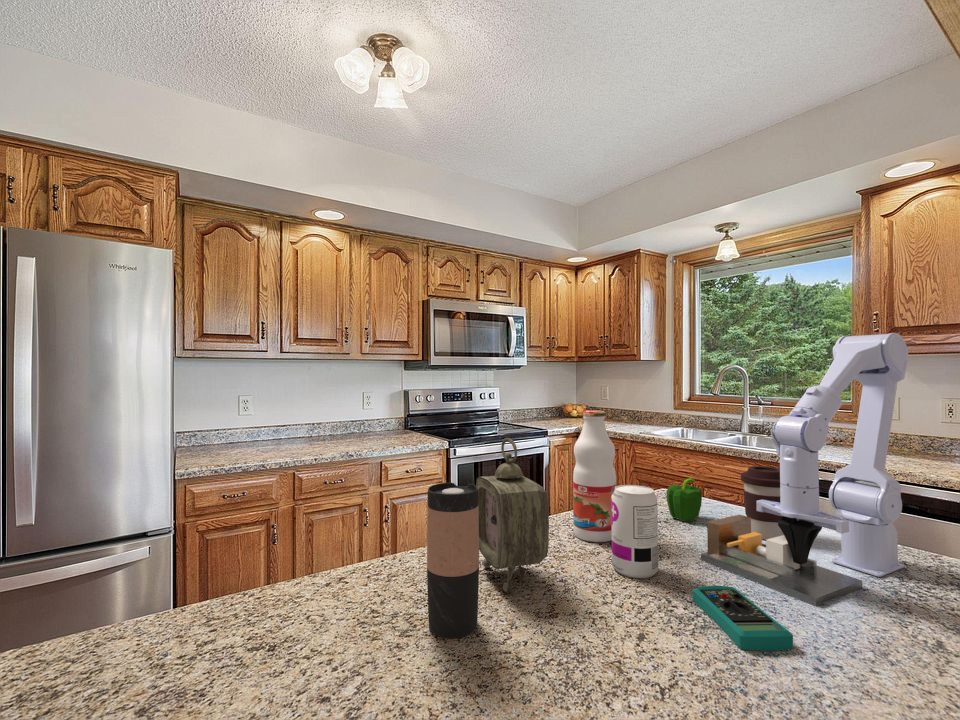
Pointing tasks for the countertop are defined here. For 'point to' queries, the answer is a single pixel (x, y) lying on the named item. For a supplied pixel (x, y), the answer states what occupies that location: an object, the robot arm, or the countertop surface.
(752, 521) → the coffee cup
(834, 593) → the base
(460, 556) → the travel mug
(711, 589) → the digital multimeter
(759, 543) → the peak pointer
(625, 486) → the supplement can
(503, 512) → the tabletop clock
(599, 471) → the fruit juice
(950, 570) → the countertop surface
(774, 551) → the cream block with peg
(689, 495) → the bell pepper
